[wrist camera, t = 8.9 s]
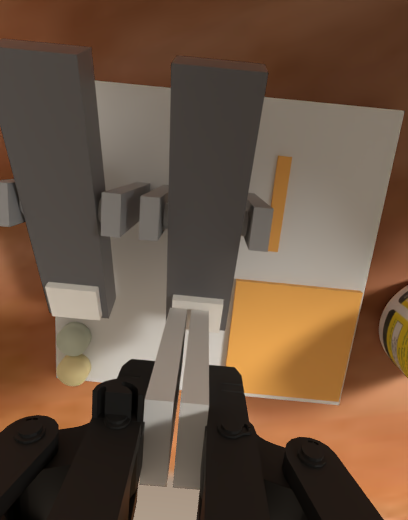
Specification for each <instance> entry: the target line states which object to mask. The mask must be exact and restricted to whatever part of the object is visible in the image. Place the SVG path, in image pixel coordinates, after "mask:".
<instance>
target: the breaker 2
mask: <svg viewBox="0 0 408 520" xmlns="http://www.w3.org/2000/svg"><path fill="white" fill-rule="evenodd" d="M267 78H268V71H267V68H266V66H265V64H260V63H250V62H239V61H229V60H219V59H209V58H198V57H188V56H178V55H177V56H176V57H175V59H174V60H173V62H172V63H171V100H170V148H169V195H168V203H166V204H165V209H164V219H163V227H164V229H168V243H167V291H166V320H167V317H168V313H169V309H170V308H181V309H187V318H186V330H189V326H190V318H191V310H202V311H209V332H214V333H219V330H222V331H225V329H226V323H227V317H228V311H229V305H230V299H231V293H232V287H233V281H234V275H235V269H236V263H237V257H238V251H239V245H240V239H241V236H245V235H246V231H247V224H248V211H245V209H246V203H247V197H248V191H249V185H250V179H251V174H252V168H253V162H254V156H255V150H256V144H257V138H258V132H259V126H260V120H261V114H262V108H263V102H264V96H265V90H266V84H267Z"/></svg>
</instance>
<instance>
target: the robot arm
mask: <svg viewBox="0 0 408 520" xmlns="http://www.w3.org/2000/svg"><path fill="white" fill-rule="evenodd" d="M186 318H187V309H181V308H170V309H169V313H168V317H167V320H166V324H165V328H164V331H163V335H162V338H161V342H160V346H159V349H158V353H157V357H156V360H155V361H150V360H139V359H130V360H129V361H128V362H127V363H125V364H124V365H123V366H122V368H121V370H120V372H119V374H118V377H117V379H112V380H108V381H104V382H102V383H101V384H99V385H97V386H96V387H95V389H94V390H93V396H92V419H91V421H90V423H88V424H85V425H82V426H79V427H74V428H67V429H60V430H58V424H57V422H56V421H55V420H54V419H52V418H50V417H48V416H40V415H36V416H29V417H25V418H22V419H19V420H17V421H15V422H13V423H12V424H10V425H9V426H7V427H6V428H5V429H4V430H3V431H2V432H0V520H133V517H134V513H135V508H136V503H137V489H138V482H139V478H140V485H151V486H162V487H166V486H167V479H168V471H169V463H170V456H171V448H172V441H173V433H174V425H175V418H176V410H177V403H178V395H179V387H180V380H181V372H182V364H183V353H184V341H185V330H186ZM173 487H174V488H185V489H197V490H200V493H199V502H198V512H197V520H384V519H383V518H382V517H381V515H380V514H379V513H378V511H377V510H376V509H375V507H374V506H373V504H372V503H371V502H370V500H369V499H368V498H367V496H366V495H365V493H364V492H363V491H362V489H361V488H360V487H359V485H358V484H357V483H356V481H355V480H354V478H353V477H352V476H351V474H350V473H349V472H348V470H347V469H346V467H345V466H344V465H343V463H342V462H341V461H340V459H339V458H338V457H337V455H336V454H335V453H334V452H333V451H332V450H331V449H330V448H329V447H328V446H327V445H325V444H323V443H322V442H320V441H318V440H315V439H312V438H306V437H298V438H294V439H291V440H290V441H289V442H288V443H287V444H286V448H284V447H281V446H278V445H275V444H272V443H270V442H268V441H265V440H264V439H262V438H261V437H259V436H258V435H257V434H256V431H255V429H254V427H253V425H252V424H251V423H250V422H249V418H248V412H247V406H246V400H245V394H244V387H243V381H242V375H241V374H240V373H239V372H238V371H237V369H236V368H235V367H228V366H217V365H209V311H202V310H191V318H190V326H189V335H188V343H187V351H186V360H185V368H184V376H183V385H182V393H181V401H180V412H179V424H178V435H177V446H176V458H175V469H174V480H173Z"/></svg>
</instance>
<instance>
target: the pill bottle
mask: <svg viewBox="0 0 408 520" xmlns="http://www.w3.org/2000/svg"><path fill="white" fill-rule="evenodd" d="M379 337H380V341H381V344H382V347H383V349H384V351H385V352H386V354H387V355H388V357H389V358H390V359H391V360H392V361H393V363H394V364H395V365H396V366H397V367H398V368H399V369H400V370H401V371H402V372H403V374H404V375H405V376H406V377H407V378H408V285H407V286H406V287H404V288H403V289H401V290H400V291H399V292H397V293H396V294H395V295H394V296H393V297H392V298H391V300H390V301H389V302H388V304H387V305H386V307H385V308H384V310H383V313H382V315H381V318H380V322H379Z"/></svg>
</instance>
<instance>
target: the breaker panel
mask: <svg viewBox="0 0 408 520" xmlns="http://www.w3.org/2000/svg"><path fill="white" fill-rule="evenodd" d="M95 88H96V98H97V108H98V118H99V129H100V139H101V149H102V159H103V169H104V179H105V189H106V191H104V192H102V202H101V236H107V237H110V240H111V250H112V260H113V270H114V280H115V290H116V300H115V303H114V306H113V308H112V311H111V314H110V317H109V319H108V318H101V319H100V321H99V320H89V319H78V318H68V317H58V316H55V326H56V378H59V380H60V381H61V382H62V383H64V384H66V385H68V386H78V385H81V384H82V383H83V382H84V381H93V382H104V381H108V380H112V379H117V377H118V374H119V372H120V370H121V368H122V366H123V365H124V364H125V363H127V362H128V361H129V360H130V359H139V360H150V361H155V360H156V357H157V353H158V349H159V346H160V342H161V338H162V335H163V331H164V328H165V324H166V291H167V243H168V229H164V227H163V219H164V209H165V204H166V203H168V195H169V148H170V100H171V88H167V87H157V86H147V85H136V84H126V83H116V82H106V81H96V80H95ZM404 112H405V111H403V110H393V109H382V108H372V107H362V106H352V105H341V104H331V103H321V102H311V101H300V100H290V99H280V98H270V97H264V102H263V108H262V114H261V120H260V126H259V132H258V138H257V144H256V150H255V156H254V162H253V168H252V174H251V179H250V185H249V191H248V197H247V203H246V209H245V211H248V224H247V231H246V235H245V236H241V239H240V245H239V251H238V257H237V263H236V269H235V275H234V281H233V287H232V293H231V299H230V305H229V311H228V317H227V323H226V329H225V331H222V330H219V333H214V332H209V365H217V366H228V367H235V368H236V369H237V371H238V372H239V373H240V374H241V375H242V381H243V387H244V394H245V396H249V397H260V398H270V399H281V400H291V401H301V402H312V403H322V404H333V405H339V403H340V399H341V394H342V390H343V385H344V381H345V376H346V372H347V367H348V363H349V358H350V354H351V349H352V345H353V340H354V336H355V331H356V327H357V323H358V318H359V314H360V309H361V305H362V300H363V296H364V291H365V287H366V282H367V278H368V273H369V269H370V264H371V260H372V255H373V251H374V246H375V242H376V237H377V233H378V229H379V224H380V220H381V215H382V211H383V206H384V202H385V197H386V193H387V188H388V184H389V179H390V175H391V170H392V166H393V161H394V157H395V152H396V148H397V143H398V139H399V135H400V130H401V126H402V121H403V117H404ZM19 200H20V199H19V195H18V191H17V187H16V184H15V180H14V179H6V180H0V226H4V227H11V226H14V225H17V224H20V223H23V222H26V221H25V218H24V214H22V212H21V210H20V205H19ZM188 335H189V330H185V341H184V353H183V364H182V372H181V380H180V387H179V390H182V385H183V376H184V368H185V360H186V351H187V343H188Z"/></svg>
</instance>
